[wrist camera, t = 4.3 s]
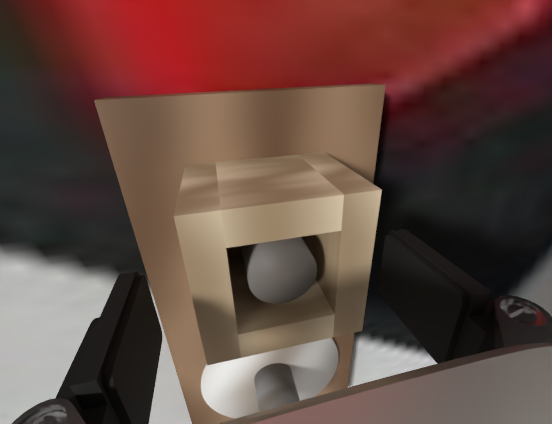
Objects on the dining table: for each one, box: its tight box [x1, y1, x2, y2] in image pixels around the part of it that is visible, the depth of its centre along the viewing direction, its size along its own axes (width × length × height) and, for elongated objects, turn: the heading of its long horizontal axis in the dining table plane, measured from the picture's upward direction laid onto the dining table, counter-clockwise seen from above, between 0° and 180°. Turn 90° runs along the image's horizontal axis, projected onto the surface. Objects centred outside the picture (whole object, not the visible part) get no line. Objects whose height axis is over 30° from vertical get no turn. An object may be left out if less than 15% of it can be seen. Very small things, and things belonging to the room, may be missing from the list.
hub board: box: [94, 84, 386, 424], centre depth 16 cm, size 12×24×6 cm, turn 2°
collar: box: [174, 152, 382, 365], centre depth 12 cm, size 6×6×5 cm
